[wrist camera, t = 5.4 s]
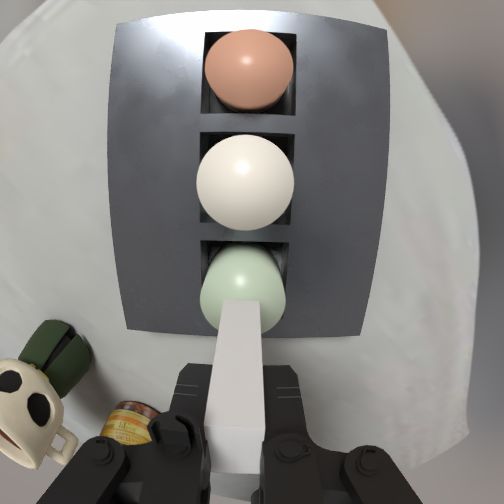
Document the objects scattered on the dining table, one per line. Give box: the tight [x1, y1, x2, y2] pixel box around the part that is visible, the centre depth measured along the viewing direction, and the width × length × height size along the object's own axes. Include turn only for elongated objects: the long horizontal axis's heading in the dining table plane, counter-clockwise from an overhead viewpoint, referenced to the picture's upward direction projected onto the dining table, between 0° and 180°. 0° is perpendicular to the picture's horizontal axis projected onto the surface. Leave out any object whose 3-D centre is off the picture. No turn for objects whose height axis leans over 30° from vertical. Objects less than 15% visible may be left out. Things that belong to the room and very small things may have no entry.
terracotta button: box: [205, 29, 293, 114], centre depth 14 cm, size 4×4×4 cm
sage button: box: [200, 241, 286, 334], centre depth 17 cm, size 4×4×4 cm
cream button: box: [196, 135, 294, 231], centre depth 15 cm, size 4×4×4 cm
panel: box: [107, 10, 390, 338], centre depth 17 cm, size 20×16×3 cm
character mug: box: [0, 320, 91, 470], centre depth 17 cm, size 11×7×13 cm, turn 47°
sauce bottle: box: [99, 401, 159, 445], centre depth 17 cm, size 6×6×20 cm
